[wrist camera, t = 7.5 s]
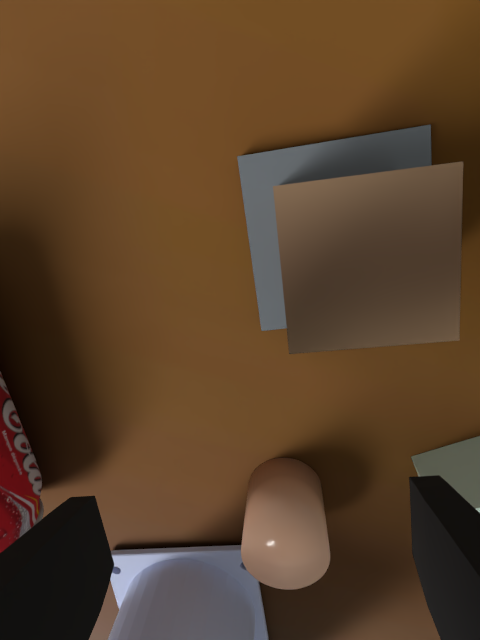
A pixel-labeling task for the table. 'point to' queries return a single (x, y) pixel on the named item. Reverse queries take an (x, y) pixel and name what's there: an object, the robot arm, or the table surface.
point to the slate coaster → (307, 166)
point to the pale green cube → (455, 467)
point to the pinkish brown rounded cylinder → (285, 525)
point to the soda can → (16, 476)
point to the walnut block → (371, 258)
